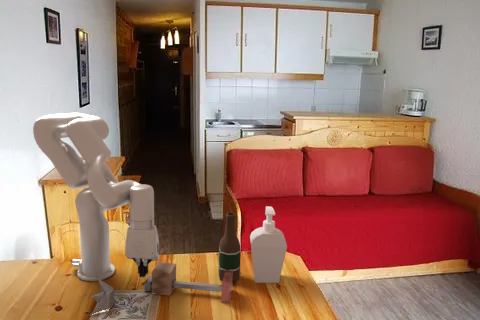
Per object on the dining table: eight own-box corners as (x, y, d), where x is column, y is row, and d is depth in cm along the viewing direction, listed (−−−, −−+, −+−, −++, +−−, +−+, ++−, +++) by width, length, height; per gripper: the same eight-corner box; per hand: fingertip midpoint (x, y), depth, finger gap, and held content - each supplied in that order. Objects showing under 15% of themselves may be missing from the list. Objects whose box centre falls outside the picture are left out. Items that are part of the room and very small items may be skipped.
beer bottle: (237, 284, 138) (239, 218, 133) (215, 281, 139) (217, 216, 134) (241, 274, 145) (244, 211, 140) (221, 271, 146) (222, 209, 142)
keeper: (152, 293, 129) (151, 272, 128) (158, 283, 136) (158, 262, 134) (170, 295, 129) (170, 273, 127) (175, 284, 135) (176, 263, 134)
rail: (142, 294, 129) (142, 274, 128) (150, 282, 137) (150, 263, 135) (228, 302, 126) (229, 282, 125) (232, 289, 134) (232, 270, 133)
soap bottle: (281, 270, 149) (285, 204, 143) (284, 284, 139) (289, 214, 134) (248, 269, 148) (251, 203, 143) (249, 283, 138) (252, 212, 133)
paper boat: (112, 314, 116) (79, 309, 114) (109, 323, 120) (77, 319, 118) (120, 277, 125) (90, 272, 122) (116, 286, 129) (87, 282, 126)
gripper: (115, 225, 126) (116, 278, 129) (161, 228, 124) (161, 283, 128) (124, 217, 133) (126, 268, 137) (168, 220, 131) (168, 271, 135)
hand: (143, 275), depth 132 cm, fingers closed
